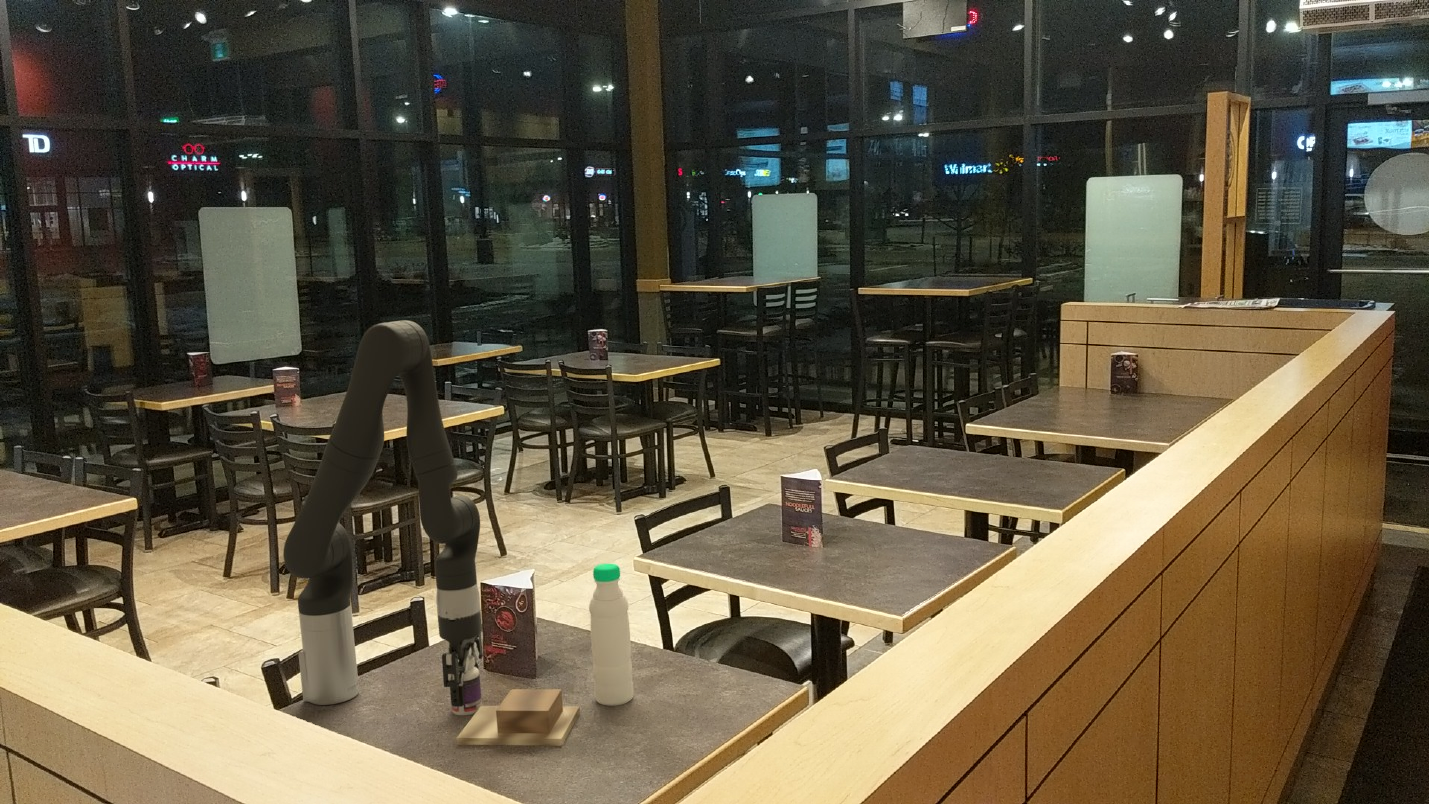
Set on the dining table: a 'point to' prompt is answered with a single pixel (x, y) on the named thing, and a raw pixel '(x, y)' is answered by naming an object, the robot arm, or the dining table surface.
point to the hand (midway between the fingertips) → (466, 696)
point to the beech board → (486, 733)
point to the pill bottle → (470, 691)
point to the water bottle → (610, 638)
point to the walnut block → (529, 711)
